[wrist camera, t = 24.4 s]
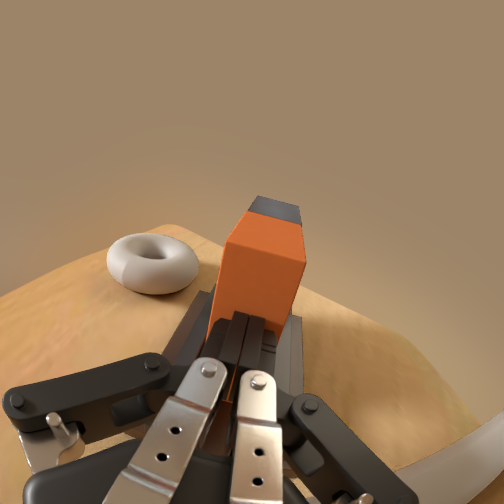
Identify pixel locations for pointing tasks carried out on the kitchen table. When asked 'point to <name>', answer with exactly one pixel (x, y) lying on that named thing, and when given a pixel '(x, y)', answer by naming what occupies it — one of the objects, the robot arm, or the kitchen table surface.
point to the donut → (152, 263)
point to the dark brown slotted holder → (195, 332)
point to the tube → (457, 467)
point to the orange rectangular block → (260, 272)
